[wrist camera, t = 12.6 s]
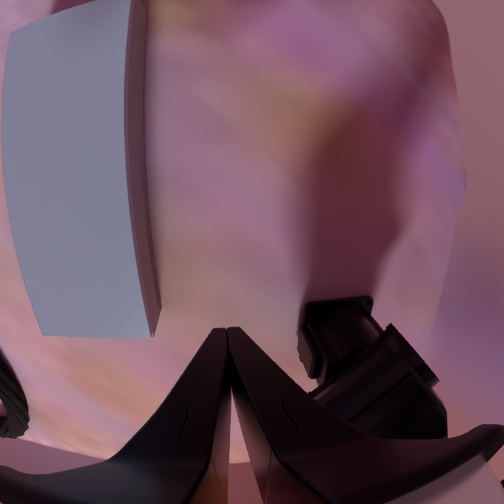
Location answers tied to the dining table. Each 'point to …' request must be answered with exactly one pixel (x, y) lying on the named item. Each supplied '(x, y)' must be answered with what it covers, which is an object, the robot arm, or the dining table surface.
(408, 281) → the dining table surface
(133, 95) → the grey tray with bar
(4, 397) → the cable lock
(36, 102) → the cover
